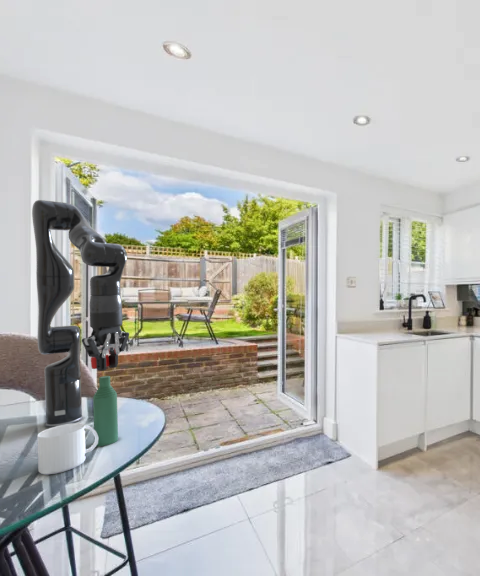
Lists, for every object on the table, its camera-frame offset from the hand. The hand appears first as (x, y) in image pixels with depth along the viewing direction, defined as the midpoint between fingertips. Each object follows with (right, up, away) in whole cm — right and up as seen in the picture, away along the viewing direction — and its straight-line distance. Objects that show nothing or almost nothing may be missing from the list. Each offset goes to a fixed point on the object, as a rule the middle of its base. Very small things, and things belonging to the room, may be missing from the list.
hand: (107, 368), depth 103 cm
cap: (-2, 0, 0) cm, 2 cm away
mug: (-1, -23, -11) cm, 25 cm away
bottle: (-1, -22, +1) cm, 22 cm away
